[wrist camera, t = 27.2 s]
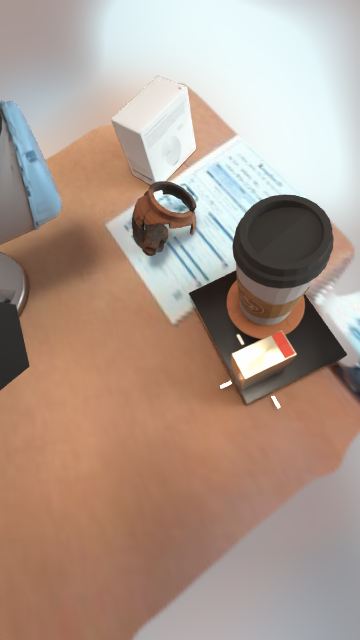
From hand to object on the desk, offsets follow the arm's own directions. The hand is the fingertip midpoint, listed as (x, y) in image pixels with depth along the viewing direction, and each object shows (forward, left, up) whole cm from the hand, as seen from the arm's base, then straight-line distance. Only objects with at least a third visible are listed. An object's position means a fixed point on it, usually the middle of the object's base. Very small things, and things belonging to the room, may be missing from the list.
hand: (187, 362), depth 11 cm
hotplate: (-7, +9, -30) cm, 32 cm away
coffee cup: (-9, +12, -27) cm, 31 cm away
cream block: (-2, +7, -27) cm, 28 cm away
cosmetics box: (-41, +11, -30) cm, 52 cm away
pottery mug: (-27, +5, -30) cm, 41 cm away
